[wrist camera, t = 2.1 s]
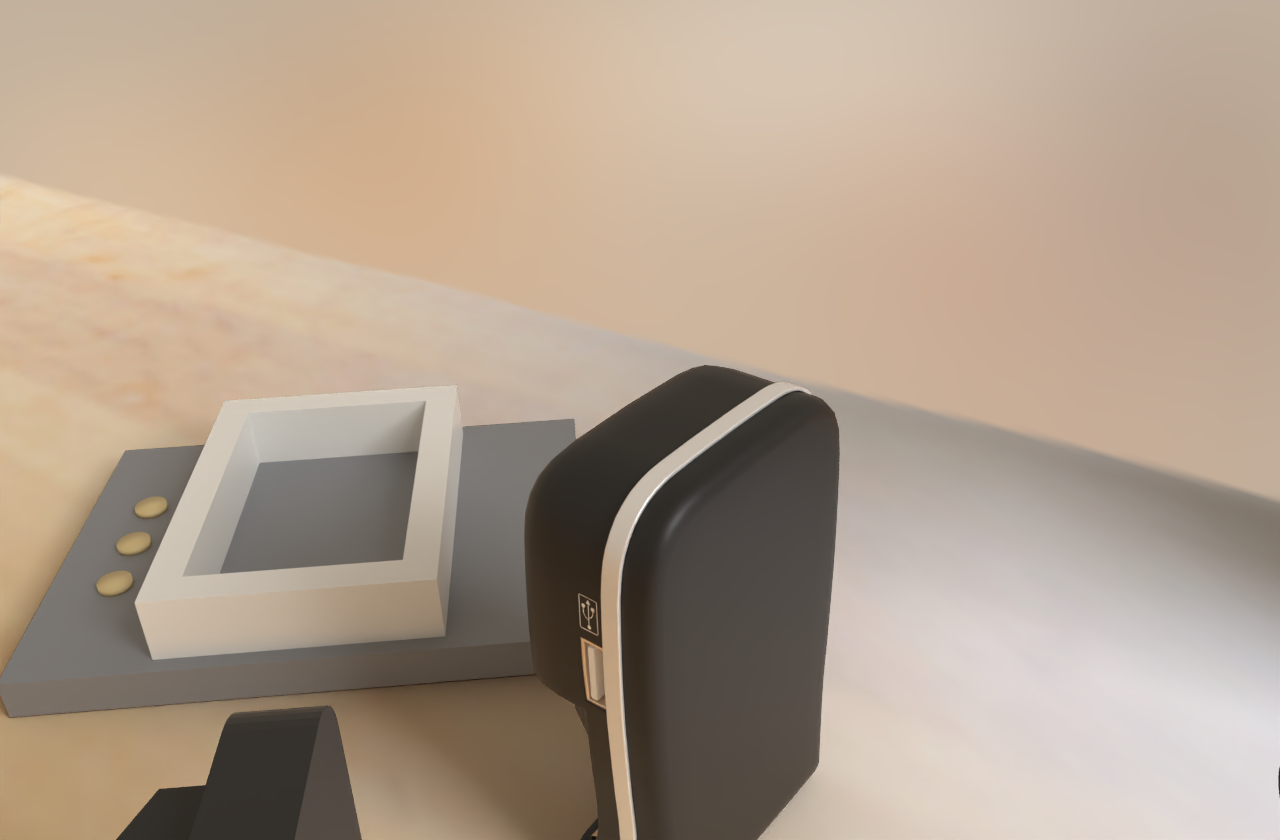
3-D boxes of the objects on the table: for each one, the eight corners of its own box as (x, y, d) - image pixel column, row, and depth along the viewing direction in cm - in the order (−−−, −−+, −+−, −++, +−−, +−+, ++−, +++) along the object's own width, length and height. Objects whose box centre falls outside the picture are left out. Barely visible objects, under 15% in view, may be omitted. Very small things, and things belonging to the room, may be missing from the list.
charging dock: (576, 446, 44) (570, 370, 42) (592, 669, 33) (585, 579, 32) (133, 478, 43) (110, 401, 41) (9, 717, 32) (-28, 627, 31)
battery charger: (706, 702, 32) (703, 321, 26) (828, 766, 30) (855, 367, 24) (529, 874, 27) (479, 458, 22) (659, 965, 25) (643, 530, 20)
